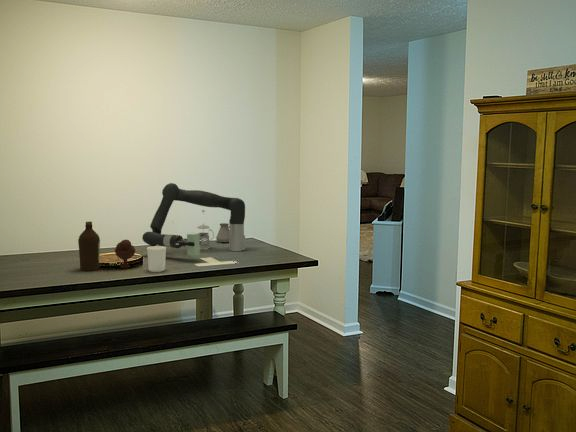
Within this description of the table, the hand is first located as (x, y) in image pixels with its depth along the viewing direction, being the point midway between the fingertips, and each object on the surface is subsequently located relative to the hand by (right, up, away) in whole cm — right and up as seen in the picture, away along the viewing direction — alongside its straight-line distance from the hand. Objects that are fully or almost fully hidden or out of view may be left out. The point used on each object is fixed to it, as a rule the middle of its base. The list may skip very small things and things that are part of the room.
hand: (197, 243), depth 319 cm
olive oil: (-52, -12, -24) cm, 59 cm away
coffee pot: (+10, -3, +68) cm, 68 cm away
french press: (-3, -5, +46) cm, 47 cm away
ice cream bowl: (-36, -12, -16) cm, 41 cm away
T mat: (+8, -10, +3) cm, 13 cm away
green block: (-2, -6, +2) cm, 7 cm away
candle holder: (-17, -13, -23) cm, 32 cm away
